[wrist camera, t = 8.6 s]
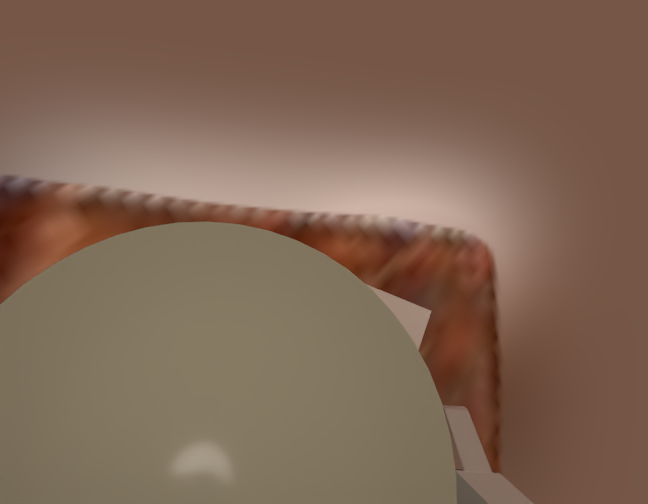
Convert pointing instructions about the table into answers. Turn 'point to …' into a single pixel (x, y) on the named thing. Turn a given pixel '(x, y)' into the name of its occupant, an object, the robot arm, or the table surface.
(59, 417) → the sage green rounded cylinder
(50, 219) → the table surface
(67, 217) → the table surface
